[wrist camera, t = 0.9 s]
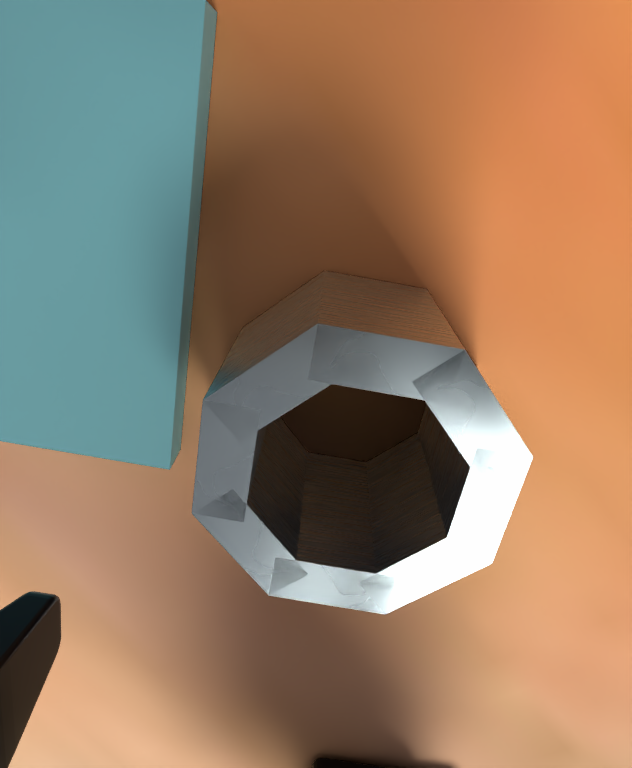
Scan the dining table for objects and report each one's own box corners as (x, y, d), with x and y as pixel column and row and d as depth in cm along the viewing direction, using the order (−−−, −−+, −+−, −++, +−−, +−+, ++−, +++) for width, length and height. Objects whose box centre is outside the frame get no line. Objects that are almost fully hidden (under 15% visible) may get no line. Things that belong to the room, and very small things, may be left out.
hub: (434, 505, 18) (466, 627, 13) (225, 470, 18) (185, 581, 13) (498, 302, 15) (567, 367, 11) (251, 257, 15) (212, 304, 10)
